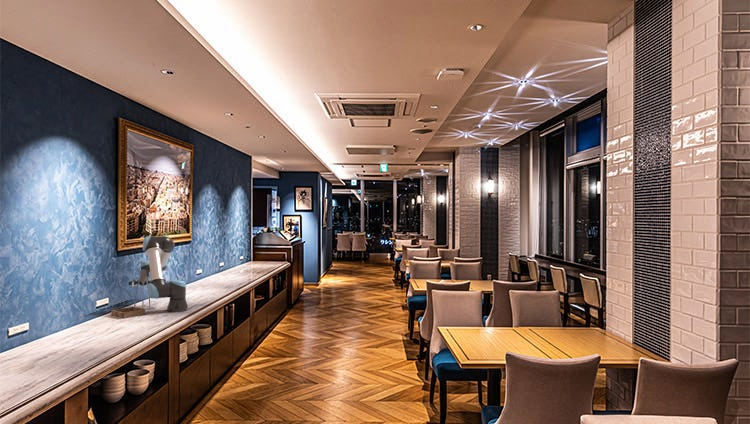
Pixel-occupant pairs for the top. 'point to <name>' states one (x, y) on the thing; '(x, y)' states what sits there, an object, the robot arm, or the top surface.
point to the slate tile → (146, 307)
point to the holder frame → (128, 312)
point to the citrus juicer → (142, 280)
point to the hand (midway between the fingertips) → (142, 284)
